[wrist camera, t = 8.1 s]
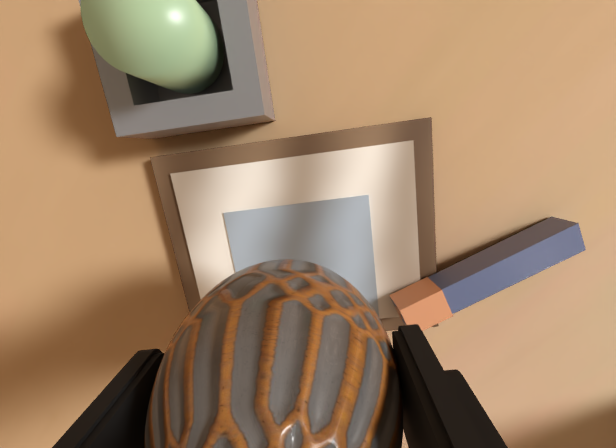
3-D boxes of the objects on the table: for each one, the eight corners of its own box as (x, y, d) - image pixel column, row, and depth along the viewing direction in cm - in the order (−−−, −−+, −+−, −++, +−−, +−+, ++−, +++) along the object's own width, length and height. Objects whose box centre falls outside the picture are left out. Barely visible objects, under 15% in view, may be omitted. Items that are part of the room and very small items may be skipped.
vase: (182, 328, 13) (-80, 674, 4) (270, 201, 11) (128, 362, 3) (310, 408, 14) (297, 829, 5) (410, 300, 12) (616, 650, 4)
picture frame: (426, 118, 16) (433, 116, 15) (434, 319, 19) (440, 329, 18) (156, 157, 17) (146, 157, 16) (202, 340, 20) (196, 350, 19)
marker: (551, 215, 17) (579, 223, 15) (558, 241, 17) (587, 251, 15) (389, 295, 17) (399, 310, 16) (400, 318, 18) (412, 335, 16)
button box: (252, -30, 14) (234, -75, 12) (275, 120, 16) (264, 114, 13) (116, -5, 15) (67, -41, 12) (152, 138, 17) (116, 136, 14)
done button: (214, -4, 13) (174, -62, 10) (231, 87, 14) (199, 66, 11) (134, 11, 14) (65, -40, 10) (155, 99, 15) (99, 83, 11)
